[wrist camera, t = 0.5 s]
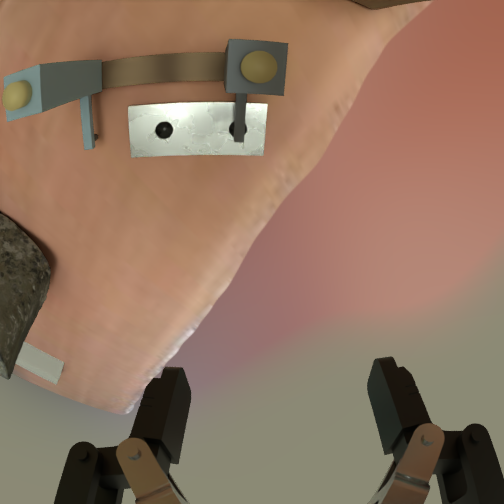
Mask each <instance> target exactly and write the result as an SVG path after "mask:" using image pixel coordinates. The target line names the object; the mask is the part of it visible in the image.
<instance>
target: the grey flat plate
mask: <svg viewBox="0 0 504 504" xmlns="http://www.w3.org/2000/svg"><path fill="white" fill-rule="evenodd" d="M235 104H236V102H172V103H155V104H142V105H132V106H128V118H129V136H130V149H131V158H133V157H150V156H173V155H257V156H263V154H264V142H265V130H266V117H267V105H268V104H267V103H253V102H246V118H245V135H244V143H239V142H234V123H235Z"/></svg>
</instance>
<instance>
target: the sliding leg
mask: <svg viewBox="0 0 504 504" xmlns="http://www.w3.org/2000/svg"><path fill="white" fill-rule="evenodd" d="M98 92H102V60H83V61H67V62H56V63H47V64H39V65H36V66H33V67H30V68H27V69H24V70H21V71H19V72H16V73H13V74H11V75H8V76H6V77H4V92H3V97H2V101H3V105H4V107H5V108H6V116H7V122H8V121H12V120H15V119H19V118H22V117H26V116H30V115H34V114H38V113H42V112H44V111H47V110H49V109H52V108H55V107H57V106H60V105H62V104H65V103H68V102H71V101H74V100H77V99H80V108H81V121H82V131H83V141H84V149H85V150H88V149H93V148H95V141H96V140H97V139H98V135H97V134H94V129H93V117H92V101H91V95H92V94H95V93H98Z"/></svg>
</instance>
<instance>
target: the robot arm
mask: <svg viewBox="0 0 504 504" xmlns="http://www.w3.org/2000/svg"><path fill="white" fill-rule="evenodd" d="M367 390H368V395H369V398H370V402H371V405H372V409H373V412H374V416H375V420H376V423H377V427H378V431H379V435H380V439H381V442H382V447H383V451H384V454H385V455H387V454H391V453H393V456H394V460H393V462H392V464H391V465H390V467H389V469H388V471H387V473H386V475H385V477H384V479H383V481H382V482H381V484H380V486H379V488H378V489H377V491H376V493H375V494H374V496H373V497H372V499H371V500H370V501H369V502H368V504H424V502H425V500H426V497H427V495H428V493H429V490H430V486H429V480H430V478H431V476H432V474H436V475H437V480H438V484H439V489H440V494H441V499H442V504H504V478H503V474H502V472H501V468H500V465H499V462H498V458H497V455H496V452H495V450H494V447H493V444H492V441H491V439H490V436H489V433H488V431H487V429H486V428H485V427H484V426H482V425H480V424H471V425H469V426H467V427H466V428H465V429H464V430H463V431H443V430H442V429H441V428H440V427H438V426H437V425H435V424H433V423H432V422H431V420H430V418H429V415H428V412H427V410H426V407H425V405H424V402H423V400H422V398H421V395H420V393H419V391H418V388H417V386H416V384H415V381H414V379H413V377H412V374H411V373H410V372H409V371H408V370H406V368H405V367H399V368H398V367H397V365H396V362H395V360H394V358H393V357H385V358H378V359H375V360H374V363H373V366H372V369H371V372H370V376H369V379H368V383H367ZM190 403H191V390H190V386H189V384H188V381H187V378H186V375H185V372H184V370H183V368H181V367H165V368H164V369H163V372H162V375H161V378H153V379H152V380H151V382H150V383H149V384H148V385H147V386H146V388H145V391H144V394H143V398H142V400H141V403H140V407H139V409H138V412H137V415H136V418H135V421H134V425H133V428H132V431H131V434H130V436H129V438H128V439H126V440H124V441H123V442H121V443H120V444H119V445H118V446H114V447H105V448H96V447H95V446H94V445H92V444H91V443H89V442H79V443H76V444H75V445H74V446H73V447H72V448H71V449H70V451H69V454H68V457H67V460H66V463H65V467H64V470H63V473H62V476H61V480H60V483H59V487H58V490H57V494H56V497H55V501H54V504H121V503H122V497H123V492H124V489H127V488H131V489H132V491H133V493H134V495H135V497H136V500H135V503H136V504H190V503H189V502H188V501H187V499H186V497H185V496H184V494H183V493H182V492H181V490H180V488H179V487H178V485H177V484H176V482H175V481H174V479H173V478H172V476H171V475H170V473H169V468H170V463H173V464H179V458H180V453H181V448H182V443H183V438H184V433H185V428H186V422H187V418H188V413H189V407H190Z"/></svg>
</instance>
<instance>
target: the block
mask: <svg viewBox="0 0 504 504" xmlns="http://www.w3.org/2000/svg"><path fill="white" fill-rule="evenodd" d="M352 1H355V2H357V3H359V4H362V5H364V6H366V7H368V8H370V9H382V8H387V7H392V6H397V5H402V4H408V3H415V2H422V1H429V0H352Z"/></svg>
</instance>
